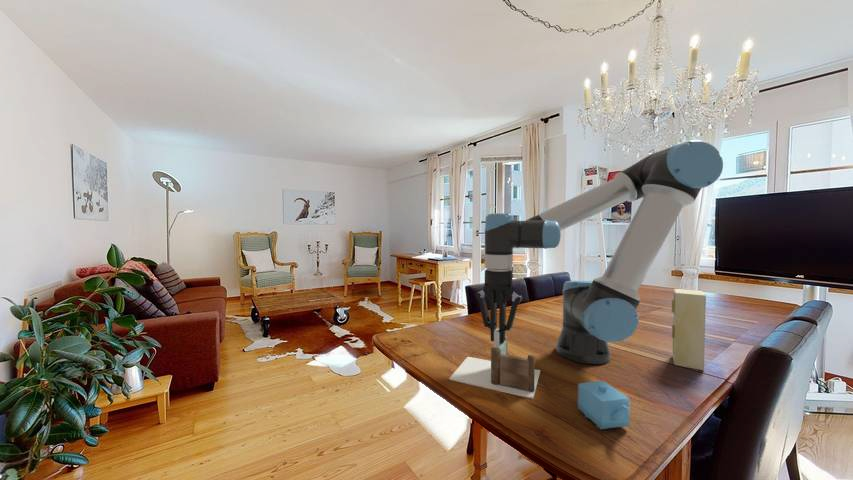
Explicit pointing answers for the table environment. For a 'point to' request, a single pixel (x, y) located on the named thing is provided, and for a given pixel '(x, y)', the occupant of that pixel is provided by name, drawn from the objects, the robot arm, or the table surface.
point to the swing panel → (503, 346)
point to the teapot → (603, 404)
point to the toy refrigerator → (688, 328)
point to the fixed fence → (512, 370)
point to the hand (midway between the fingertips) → (497, 352)
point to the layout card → (486, 377)
